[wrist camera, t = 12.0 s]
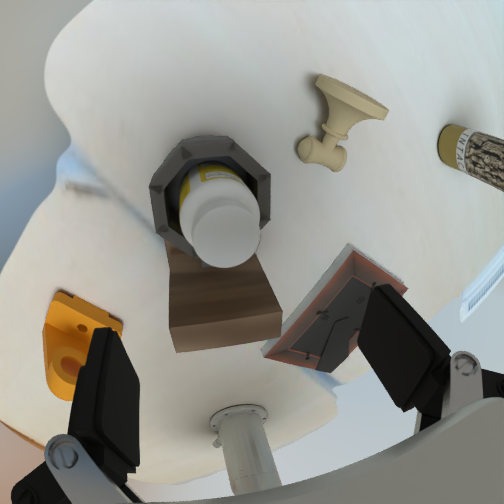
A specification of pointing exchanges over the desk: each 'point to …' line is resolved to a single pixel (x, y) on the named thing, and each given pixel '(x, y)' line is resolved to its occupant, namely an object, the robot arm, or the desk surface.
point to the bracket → (70, 340)
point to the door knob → (338, 122)
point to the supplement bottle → (218, 214)
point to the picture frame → (330, 314)
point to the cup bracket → (204, 275)
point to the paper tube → (473, 154)
